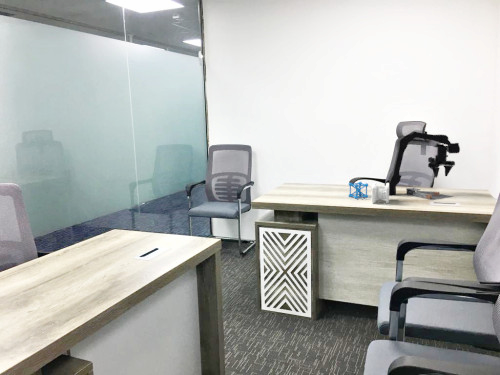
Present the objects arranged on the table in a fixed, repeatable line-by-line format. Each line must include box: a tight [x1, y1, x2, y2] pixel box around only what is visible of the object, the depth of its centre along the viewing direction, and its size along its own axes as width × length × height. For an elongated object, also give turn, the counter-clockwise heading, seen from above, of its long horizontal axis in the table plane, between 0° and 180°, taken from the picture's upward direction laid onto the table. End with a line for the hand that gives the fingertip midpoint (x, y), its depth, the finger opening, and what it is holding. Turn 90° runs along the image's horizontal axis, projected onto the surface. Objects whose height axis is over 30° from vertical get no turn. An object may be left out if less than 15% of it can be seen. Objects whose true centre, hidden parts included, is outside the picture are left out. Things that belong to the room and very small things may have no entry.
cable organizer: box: [370, 182, 390, 204], centre depth 259 cm, size 15×11×12 cm
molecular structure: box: [348, 181, 369, 200], centre depth 276 cm, size 10×10×10 cm
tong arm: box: [415, 190, 440, 196], centre depth 273 cm, size 14×2×2 cm, turn 60°
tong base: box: [405, 187, 432, 200], centre depth 270 cm, size 20×6×5 cm, turn 25°
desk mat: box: [404, 193, 455, 201], centre depth 273 cm, size 20×25×1 cm
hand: (441, 176), depth 273 cm, fingers open, 9 cm apart
